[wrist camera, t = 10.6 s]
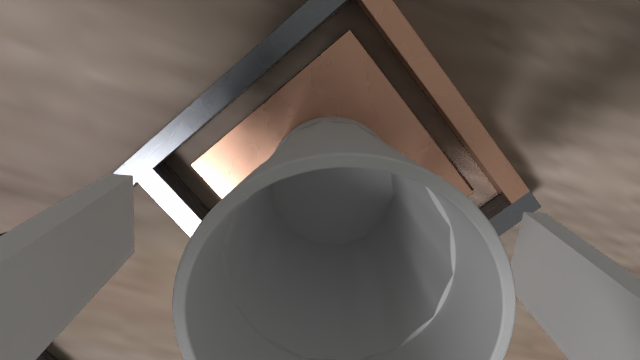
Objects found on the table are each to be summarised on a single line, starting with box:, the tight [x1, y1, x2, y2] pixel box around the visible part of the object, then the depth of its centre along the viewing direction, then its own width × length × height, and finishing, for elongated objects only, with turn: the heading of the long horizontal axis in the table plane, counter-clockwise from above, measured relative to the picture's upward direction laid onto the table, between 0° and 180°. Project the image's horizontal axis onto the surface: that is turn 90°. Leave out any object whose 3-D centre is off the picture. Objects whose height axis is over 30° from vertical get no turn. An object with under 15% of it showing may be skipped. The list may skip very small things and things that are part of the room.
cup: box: [172, 116, 516, 360], centre depth 16 cm, size 8×8×12 cm
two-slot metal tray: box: [36, 0, 541, 360], centre depth 22 cm, size 27×14×2 cm, turn 129°
